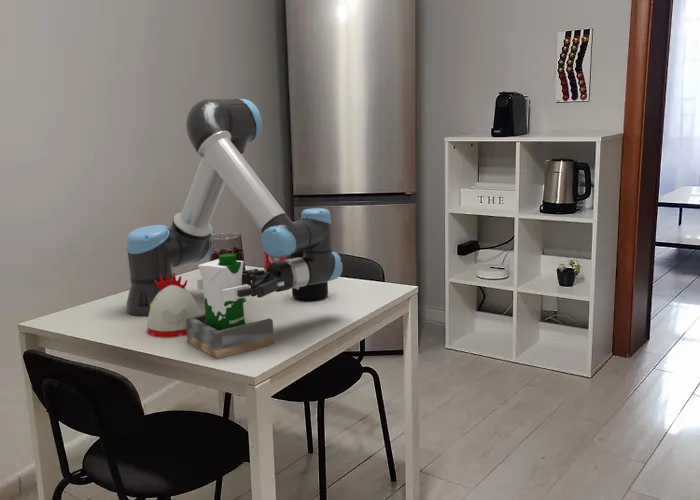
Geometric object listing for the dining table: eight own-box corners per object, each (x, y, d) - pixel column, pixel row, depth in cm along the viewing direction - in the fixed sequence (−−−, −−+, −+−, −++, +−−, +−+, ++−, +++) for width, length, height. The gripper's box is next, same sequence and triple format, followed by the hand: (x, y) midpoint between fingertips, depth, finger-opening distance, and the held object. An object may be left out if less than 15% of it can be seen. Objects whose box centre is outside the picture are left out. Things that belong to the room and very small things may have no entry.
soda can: (290, 279, 228) (288, 244, 225) (274, 284, 223) (272, 247, 220) (276, 276, 232) (274, 241, 230) (260, 281, 227) (258, 245, 225)
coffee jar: (327, 301, 201) (324, 240, 197) (290, 302, 201) (287, 241, 197) (329, 291, 211) (326, 234, 208) (294, 292, 212) (291, 234, 208)
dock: (187, 341, 170) (185, 318, 168) (241, 328, 178) (240, 306, 177) (217, 358, 157) (215, 333, 156) (274, 343, 166) (272, 319, 165)
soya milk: (228, 343, 161) (223, 259, 157) (199, 338, 165) (192, 256, 162) (251, 332, 168) (247, 252, 164) (223, 327, 173) (217, 249, 169)
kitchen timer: (148, 324, 185) (143, 269, 182) (200, 318, 189) (196, 264, 186) (148, 340, 172) (142, 281, 169) (204, 333, 175) (200, 276, 172)
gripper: (315, 298, 166) (236, 316, 153) (262, 280, 185) (189, 295, 173) (314, 268, 164) (234, 284, 152) (261, 253, 184) (186, 266, 171)
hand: (209, 290), depth 162 cm, fingers open, 13 cm apart
